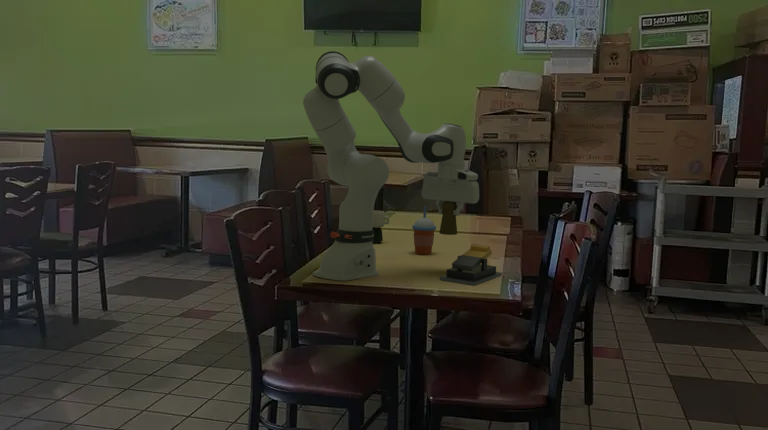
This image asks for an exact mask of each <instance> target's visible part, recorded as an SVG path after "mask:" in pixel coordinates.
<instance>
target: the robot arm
mask: <svg viewBox="0 0 768 430" xmlns="http://www.w3.org/2000/svg"><path fill="white" fill-rule="evenodd" d="M315 84H316V86H315V87H314V88H311V89H310V90H309V91H308V92H307V93H306V94H305V95H304V97H303V99H302V104H303V108H304V111H305V114H306V116H307V118H308V120H309V122H310V125H311V126H312V128H313V131H314V132H315V134H316V136H317V137H318V139H319V141H320V142H321V144H322V146H323V148H324V150H325V153H326V156H327V160H328V162H327V167H326V170H327V174H328V177H329V178H330V180H332V181H333V182H334V183H336V184H338V185H341V186H343V187H344V186H345V187H348V191H347V194H346V197H345V198H344V200H343V201H342V202H341V203H340V205H339V210H338V211H339V213H338V215H339V216H338V218H339V219H338V229H337V230H336V231H331V233H330V234H329V236H330V238H332V239H333V238H334V242H333V243H332V244H331V246H330V247H329V248H328V249H327V250H326V251H325V252H324V254H323V255H322V257H321V260H320V266H319V267H320V268H319V269H317V270H315V271H312V275H313V276H314V277H318V278H321V279H327V280H333V281H334V280H335V281H341V282H342V281H343V282H344V281H352V280H357V279H364V278H365V279H366V278H370V277H376V276H379V275H380V274H379V271H378V270H377V259H376V258H377V257H376V249H375V247H374V244H373V243H374V242H372V241H373V240H374V230H373V229H372V226H373V210H375V203H376V200H377V197H378V194H379V192H380V190H381V188H382V187H383V186H385V184H386V183H387V181H388V179H389V176H390V170H389V168H390V167H389V165H388V164H387V162H386V160H384V159H382V158H381V157H378V156H376V155H374V154H368V153H367V154H364V153H360V152H359V151H358V150H357V148H356V145H355V139H356V136H357V135H356V130H355V128H354V126H353V125H352V123H351V121H350V119H349V117H348V116H347V114H346V112H345V111H344V108H343V106H342V105H341V103H340V100H339V99H342V98H343V99H344V98H345V97H347V96H349V95H350V94H354V93H356V92H357V91H358V92H360V93H361V95H362V96H363V97H364V98H365V99H366V101H367V102H368V103H369V104H370V106H371V107H372V108H373V109H374V110H375V112H376V113H377V115H378V117H379V118H380V119H381V121H382V123H383V124H384V125H385V127H386V128H387V129H388V131H389V132H390V134H391V136H393V138H394V139H395V141H396V143H397V145H398V148H399V150H400V155H401V156H402V157H403V158H404V160H405V161H407V162H408V163H412V164H413V163H414V164H417V163H421V164H422V163H425V164H437V172H435V171H434V172H432V171H427V172H426V173H425V174H424V175H423V184H422V189H421V197H422V199H423V200H433V201H435V205H436V207H437V209H438V211H437V213H438V215H443V209H442V203H443V202H444V201H451V202H456V203H457V209H456V210H453V215H454V216H456V217H458V216H460V213H461V212H460V211H461V210H462V208H463V207H464V204H478V202H479V200H480V185H479V182H478V181H477V180H479V179H478V178H479V175H478V173H476V172H473V171H471V170H469V169H467V168H465V166H466V164H465V158H464V157H465V155H466V149H467V139H466V131H465V129H464V127H462V126H461V125H457V124H453V123H443V124H442V125H441V126H440V127H439V128H437V129H435V130H433V131H430V132H429V133H426V132H425V133H422V132H419V131H418V132H417V131H415V130H414V129H412V128H411V126H410V124H409V123H408V122H407V120H406V119H405V117H404V116H403V114H402V113H401V111H400V109H401V108H402V106H403V105H404V103H405V98H406V92H405V91H404V88H403V87H402V85H401V83H400V82H399V81H398V79H397V78H396V77H395V76H394V75H393V73H392V72H391V71H390V70H389V69H388V68H387V67H386V66H385V64H383V63H382V62H381V61H380V60H378V59H377V58H376V57H374V56H372V55H365V56H363V57H361V58H359V59H357V60H356V61H354V62H349V60H348V58H347V57H346V56H345V55H344V54H342V53H341V52H339V51H334V50H332V51H327V52H324V53H323V54H321V55H320V57H319V58H318V59H317V62H316V65H315Z"/></svg>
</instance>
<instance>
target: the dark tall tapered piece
mask: <svg viewBox="0 0 768 430" xmlns="http://www.w3.org/2000/svg"><path fill="white" fill-rule="evenodd" d="M441 205H442V209H443V214H441V222H440V227H439V234H441V235H445V236H447V235H449V236H454V235H455V236H456V235H458V227H457V226H458V225H457V216H454V215H453V210H456V209H457V207H458V206H457V202H451V201H443V202H442V203H441Z"/></svg>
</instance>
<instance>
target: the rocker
mask: <svg viewBox="0 0 768 430" xmlns="http://www.w3.org/2000/svg"><path fill="white" fill-rule="evenodd" d="M492 251H493V250H492V249H491V246H490V245H485V244H478V243H472V244H471V245H470V248H469V249H467V250H466V251H465V252H464V253H463V254H461V255H462V256H460V255H459V256H460V257H459V258H458V257H457V258H456V259H455V260H454V261H453V262H452V263H451V268H456V269H462V270H469V271H473V270H474V269H475V268H476V267H477V266H478V265H480V264H482V259H487V260H488V258H489V257H490V256H491V255H492V254H493V252H492Z"/></svg>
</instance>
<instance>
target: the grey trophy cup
mask: <svg viewBox="0 0 768 430" xmlns="http://www.w3.org/2000/svg"><path fill="white" fill-rule="evenodd" d="M385 213H386V212H385V211H383V210H375V209H373V226H372V229H373V230H374V240H373V241H372V243H381V242H383V241H384V239H383V238H384V237H383V230H382V228H383V227H385V225H389V224H390V216H389V215H385ZM385 219H386V221H385Z"/></svg>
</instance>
